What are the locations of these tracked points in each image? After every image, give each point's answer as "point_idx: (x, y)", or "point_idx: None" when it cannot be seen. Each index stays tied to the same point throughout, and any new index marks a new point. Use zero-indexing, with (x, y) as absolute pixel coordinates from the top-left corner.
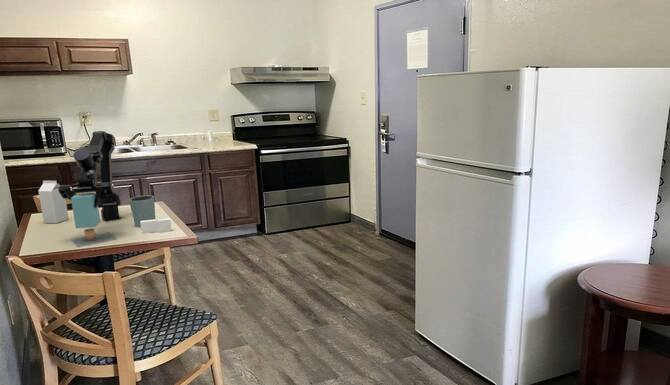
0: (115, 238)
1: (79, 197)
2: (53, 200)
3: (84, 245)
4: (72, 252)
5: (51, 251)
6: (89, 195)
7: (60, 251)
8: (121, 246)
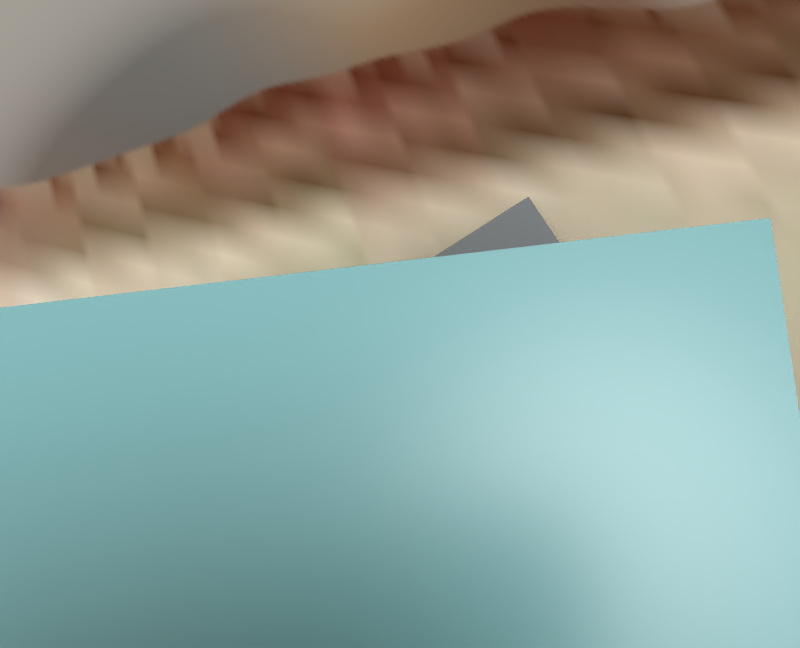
0: None
1: (362, 269)
2: None
3: (476, 245)
4: (526, 66)
5: (792, 135)
6: (34, 554)
7: (678, 118)
8: (123, 169)
